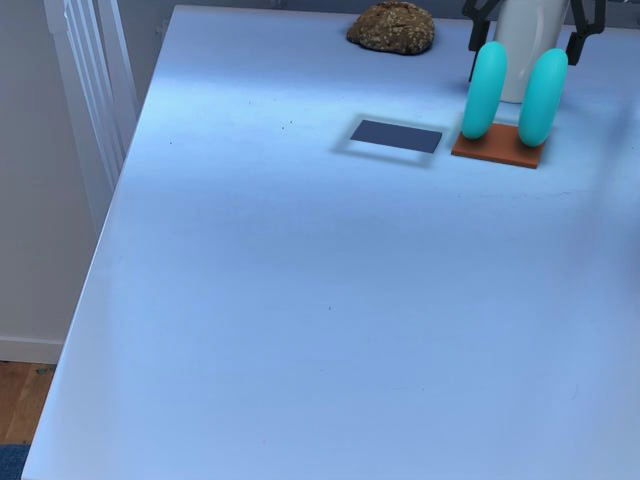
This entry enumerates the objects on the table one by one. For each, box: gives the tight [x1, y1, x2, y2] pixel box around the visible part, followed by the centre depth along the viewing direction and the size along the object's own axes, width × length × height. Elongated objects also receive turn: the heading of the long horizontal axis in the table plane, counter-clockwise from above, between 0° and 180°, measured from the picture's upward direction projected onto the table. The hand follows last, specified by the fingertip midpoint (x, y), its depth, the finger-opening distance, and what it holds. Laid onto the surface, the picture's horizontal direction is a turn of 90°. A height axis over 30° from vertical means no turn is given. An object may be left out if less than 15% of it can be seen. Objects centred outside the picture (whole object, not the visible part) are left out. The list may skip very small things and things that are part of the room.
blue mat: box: [349, 119, 443, 154], centre depth 113 cm, size 10×12×1 cm
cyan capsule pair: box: [460, 40, 569, 147], centre depth 110 cm, size 10×10×10 cm
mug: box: [492, 0, 571, 104], centre depth 121 cm, size 12×8×12 cm
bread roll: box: [345, 0, 436, 55], centre depth 138 cm, size 13×12×5 cm
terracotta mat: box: [450, 122, 547, 170], centre depth 114 cm, size 10×11×1 cm
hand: (514, 85), depth 124 cm, fingers open, 10 cm apart
